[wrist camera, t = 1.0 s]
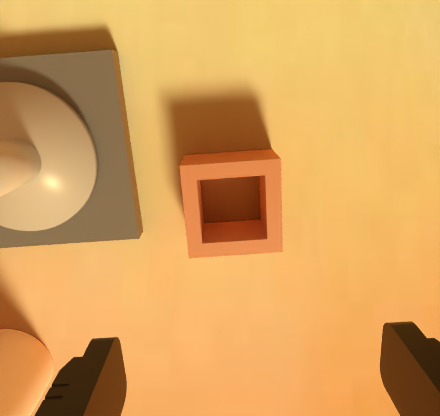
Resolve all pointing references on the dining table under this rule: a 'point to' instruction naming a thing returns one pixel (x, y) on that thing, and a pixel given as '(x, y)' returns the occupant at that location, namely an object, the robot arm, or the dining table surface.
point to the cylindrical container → (22, 372)
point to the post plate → (65, 151)
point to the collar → (234, 230)
